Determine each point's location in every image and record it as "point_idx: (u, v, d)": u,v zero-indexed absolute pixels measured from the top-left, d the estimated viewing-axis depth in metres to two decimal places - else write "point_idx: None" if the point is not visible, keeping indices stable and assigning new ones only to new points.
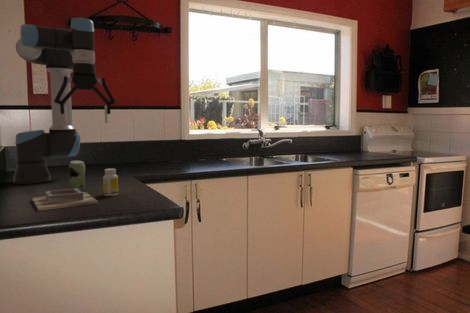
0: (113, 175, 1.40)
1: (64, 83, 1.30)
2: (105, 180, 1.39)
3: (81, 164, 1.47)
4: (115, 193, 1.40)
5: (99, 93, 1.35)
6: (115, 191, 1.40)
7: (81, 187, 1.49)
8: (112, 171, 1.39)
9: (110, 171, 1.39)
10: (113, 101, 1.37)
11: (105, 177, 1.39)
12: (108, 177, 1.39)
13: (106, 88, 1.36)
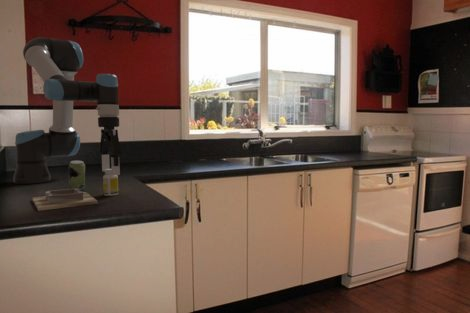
0: (113, 175, 1.40)
1: (101, 135, 1.44)
2: (105, 180, 1.39)
3: (81, 164, 1.47)
4: (115, 193, 1.40)
5: (109, 145, 1.35)
6: (115, 191, 1.40)
7: (81, 187, 1.49)
8: None
9: (110, 171, 1.39)
10: (113, 153, 1.31)
11: (105, 177, 1.39)
12: (108, 177, 1.39)
13: (111, 140, 1.33)
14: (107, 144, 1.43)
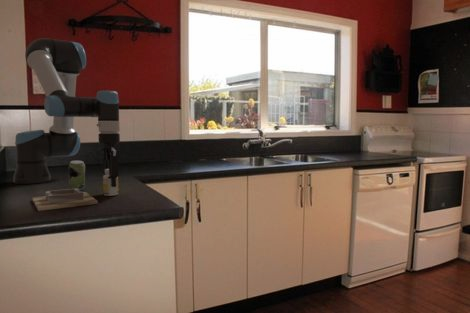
0: None
1: (102, 154, 1.44)
2: (105, 180, 1.39)
3: (81, 164, 1.47)
4: None
5: (108, 164, 1.38)
6: None
7: (81, 187, 1.49)
8: None
9: None
10: (111, 175, 1.36)
11: (105, 177, 1.39)
12: None
13: (110, 161, 1.35)
14: None
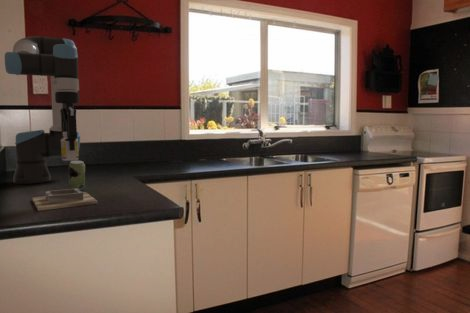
0: None
1: None
2: (63, 143, 1.27)
3: (81, 164, 1.47)
4: None
5: (66, 125, 1.25)
6: None
7: (81, 187, 1.49)
8: None
9: None
10: (68, 137, 1.23)
11: (63, 140, 1.27)
12: None
13: (68, 121, 1.23)
14: None
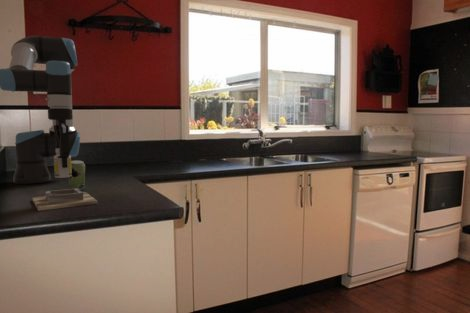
0: None
1: None
2: (55, 160, 1.25)
3: (81, 164, 1.47)
4: None
5: (59, 142, 1.24)
6: None
7: (81, 187, 1.49)
8: None
9: None
10: (61, 154, 1.22)
11: (55, 157, 1.25)
12: None
13: (60, 138, 1.22)
14: None
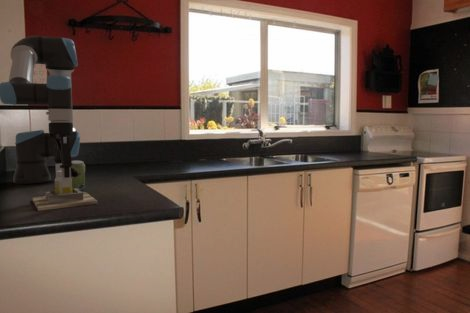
0: None
1: None
2: (56, 183, 1.26)
3: (81, 164, 1.47)
4: None
5: (60, 154, 1.23)
6: None
7: (81, 187, 1.49)
8: None
9: None
10: (63, 164, 1.19)
11: (56, 180, 1.26)
12: (59, 180, 1.26)
13: (61, 149, 1.21)
14: None
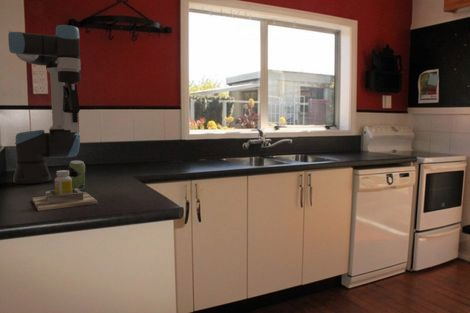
0: (65, 178, 1.27)
1: (63, 92, 1.38)
2: (56, 183, 1.26)
3: (81, 164, 1.47)
4: None
5: (69, 100, 1.29)
6: None
7: (81, 187, 1.49)
8: (64, 174, 1.27)
9: (62, 173, 1.27)
10: (71, 109, 1.26)
11: (56, 180, 1.26)
12: (60, 180, 1.26)
13: (70, 95, 1.27)
14: (69, 101, 1.37)
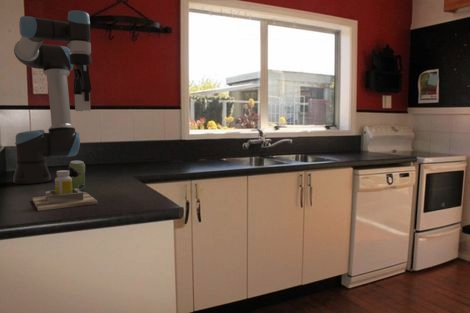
0: (66, 177, 1.27)
1: (74, 75, 1.46)
2: (56, 183, 1.26)
3: (81, 164, 1.47)
4: None
5: (80, 81, 1.37)
6: None
7: (81, 187, 1.49)
8: (64, 174, 1.27)
9: (62, 173, 1.27)
10: (83, 88, 1.34)
11: (56, 180, 1.26)
12: (60, 180, 1.26)
13: (82, 75, 1.35)
14: (80, 83, 1.46)
